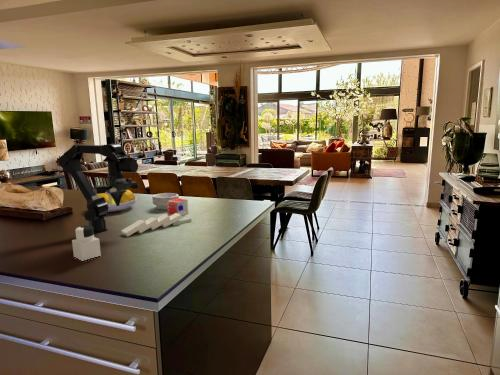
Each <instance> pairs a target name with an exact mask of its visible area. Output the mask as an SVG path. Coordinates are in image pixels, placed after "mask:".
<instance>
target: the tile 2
mask: <svg viewBox="0 0 500 375" xmlns="http://www.w3.org/2000/svg"><path fill="white" fill-rule="evenodd" d="M157 218H158V217H157ZM157 218H156V217H154V216H151V217H149V218H148V219H146V220H144V221H145V222H146V224H147V225H146V226H145V227H143V228H141V229H140V230H138V231H136V232H135V233H139V234H143V233H144V232H146V231H147V230H150V229H149V228H150V227H152V226H153V225H155V224H157V223H158V220H157Z"/></svg>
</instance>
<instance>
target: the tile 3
mask: <svg viewBox="0 0 500 375" xmlns="http://www.w3.org/2000/svg"><path fill="white" fill-rule="evenodd" d="M169 216H170V215H168V214H166V213H163V214H162V215H160V216H158V217H157V220H158V223H157V224H155V225H153V226H152V227H150V228H149V229H148V230H151V231H154V230H156V229H157V228H159V227H161V226H160V225H162V224H164V223H165V222H167V221H169V220H170V217H169Z"/></svg>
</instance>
